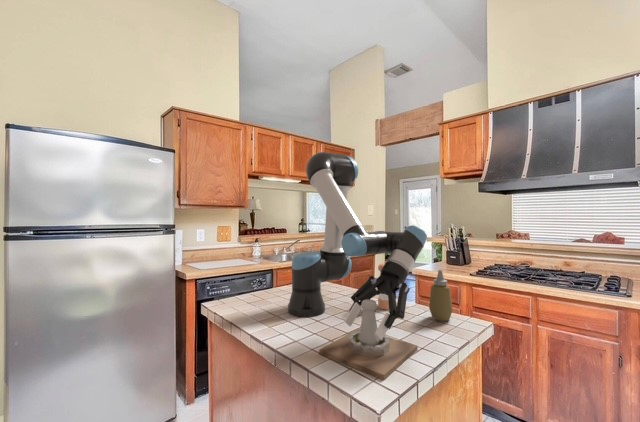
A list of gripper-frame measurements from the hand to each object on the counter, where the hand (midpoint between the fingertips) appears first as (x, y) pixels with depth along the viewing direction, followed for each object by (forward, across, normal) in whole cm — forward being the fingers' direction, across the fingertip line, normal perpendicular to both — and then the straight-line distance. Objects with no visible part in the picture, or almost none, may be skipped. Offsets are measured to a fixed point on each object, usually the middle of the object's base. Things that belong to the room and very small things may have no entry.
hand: (361, 330), depth 80 cm
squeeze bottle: (-26, +2, -36) cm, 44 cm away
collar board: (+3, 0, -7) cm, 7 cm away
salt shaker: (+2, 0, -6) cm, 6 cm away
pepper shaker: (-22, +24, -32) cm, 46 cm away
